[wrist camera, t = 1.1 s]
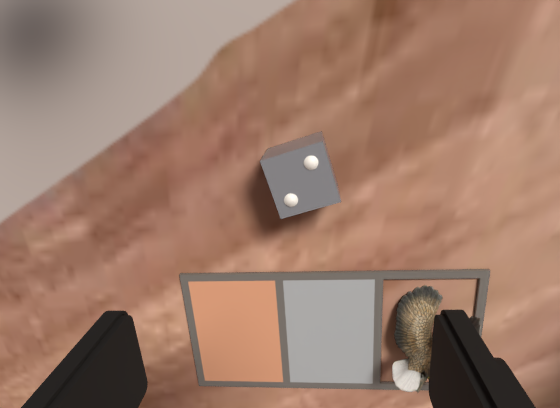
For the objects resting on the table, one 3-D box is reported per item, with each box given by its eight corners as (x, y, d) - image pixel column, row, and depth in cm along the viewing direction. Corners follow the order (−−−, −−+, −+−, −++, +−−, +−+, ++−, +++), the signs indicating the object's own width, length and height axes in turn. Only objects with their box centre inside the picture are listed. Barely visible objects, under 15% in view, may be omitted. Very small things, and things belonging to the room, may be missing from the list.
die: (321, 131, 32) (322, 141, 27) (337, 183, 34) (341, 202, 29) (267, 148, 33) (259, 161, 28) (285, 199, 34) (280, 219, 30)
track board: (489, 269, 35) (490, 270, 35) (472, 388, 40) (473, 391, 39) (180, 273, 38) (179, 274, 38) (199, 383, 43) (199, 386, 43)
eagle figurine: (475, 368, 38) (494, 304, 33) (454, 427, 33) (473, 361, 28) (402, 335, 42) (410, 273, 37) (374, 382, 37) (380, 319, 33)
